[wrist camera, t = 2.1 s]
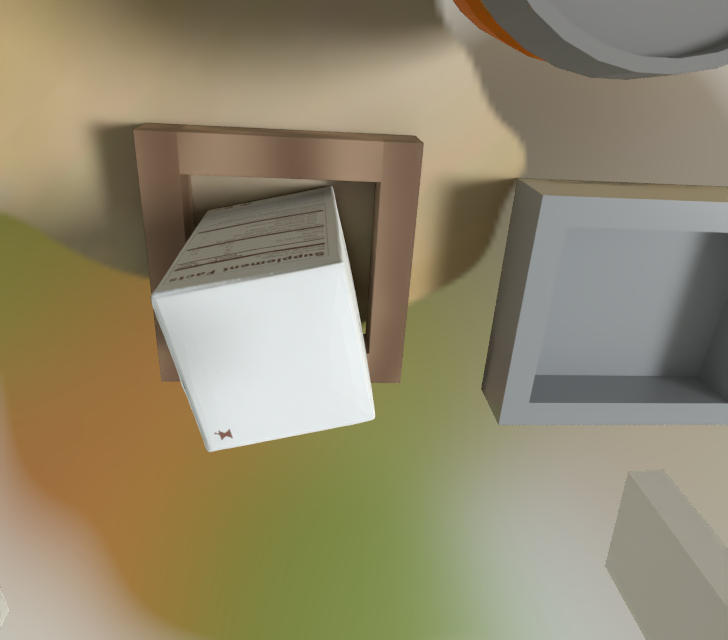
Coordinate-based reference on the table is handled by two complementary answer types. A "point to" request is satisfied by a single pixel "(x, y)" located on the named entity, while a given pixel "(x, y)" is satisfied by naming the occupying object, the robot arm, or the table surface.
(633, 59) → the reusable coffee cup
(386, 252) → the walnut collar
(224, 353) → the supplement box
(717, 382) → the grey tray
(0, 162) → the table surface
